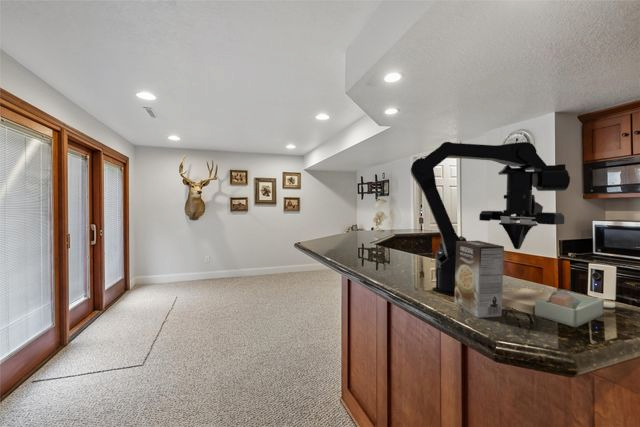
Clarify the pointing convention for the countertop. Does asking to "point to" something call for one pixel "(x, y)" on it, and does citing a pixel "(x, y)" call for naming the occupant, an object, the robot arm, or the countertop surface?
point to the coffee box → (479, 278)
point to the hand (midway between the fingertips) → (517, 249)
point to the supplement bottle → (439, 255)
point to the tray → (571, 311)
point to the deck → (524, 299)
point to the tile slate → (574, 301)
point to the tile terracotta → (562, 300)
